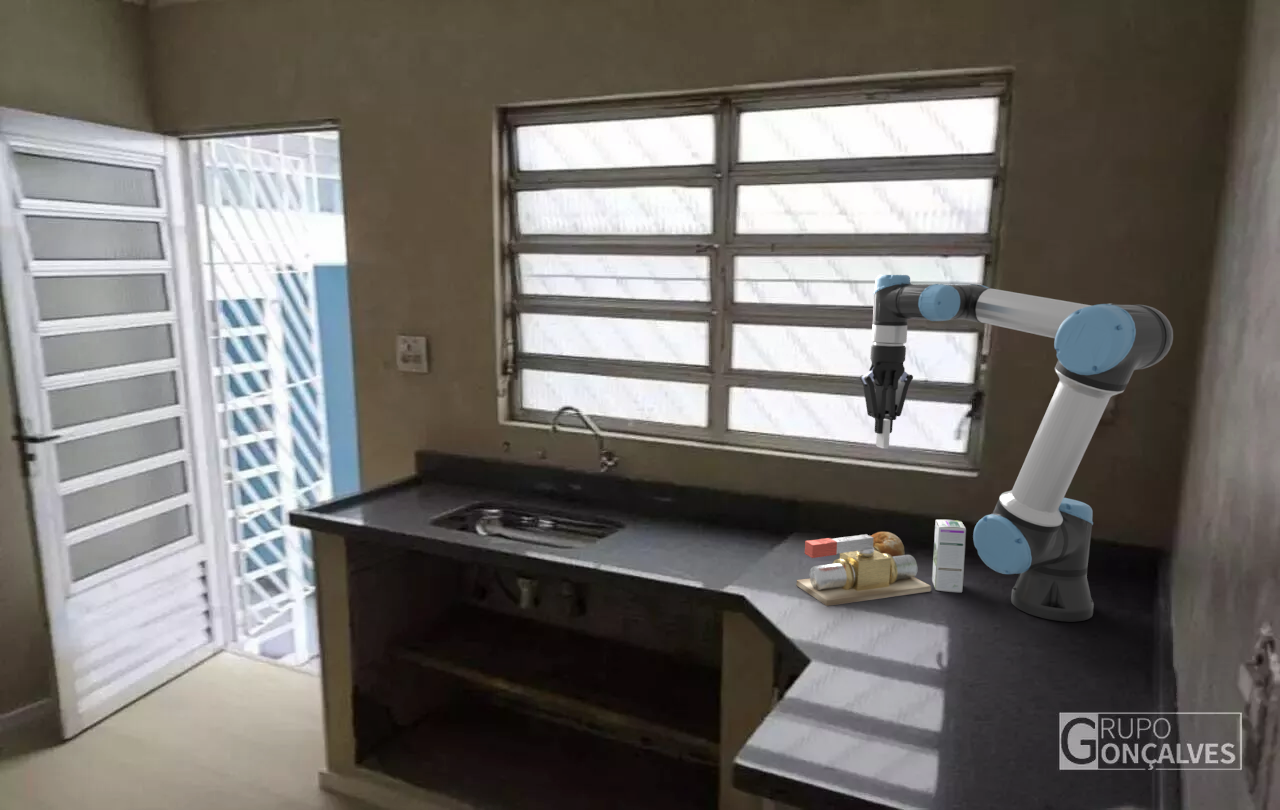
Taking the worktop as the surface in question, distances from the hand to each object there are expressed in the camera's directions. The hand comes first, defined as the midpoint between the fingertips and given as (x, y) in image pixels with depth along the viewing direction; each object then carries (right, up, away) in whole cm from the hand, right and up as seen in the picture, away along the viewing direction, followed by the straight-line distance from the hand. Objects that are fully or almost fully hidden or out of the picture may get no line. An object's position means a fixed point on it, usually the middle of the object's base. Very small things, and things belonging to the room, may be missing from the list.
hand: (882, 447), depth 188 cm
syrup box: (+12, -30, -8) cm, 34 cm away
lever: (-13, -23, -13) cm, 29 cm away
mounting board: (-7, -30, -10) cm, 32 cm away
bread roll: (+3, -27, +11) cm, 30 cm away
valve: (-7, -30, -10) cm, 32 cm away
